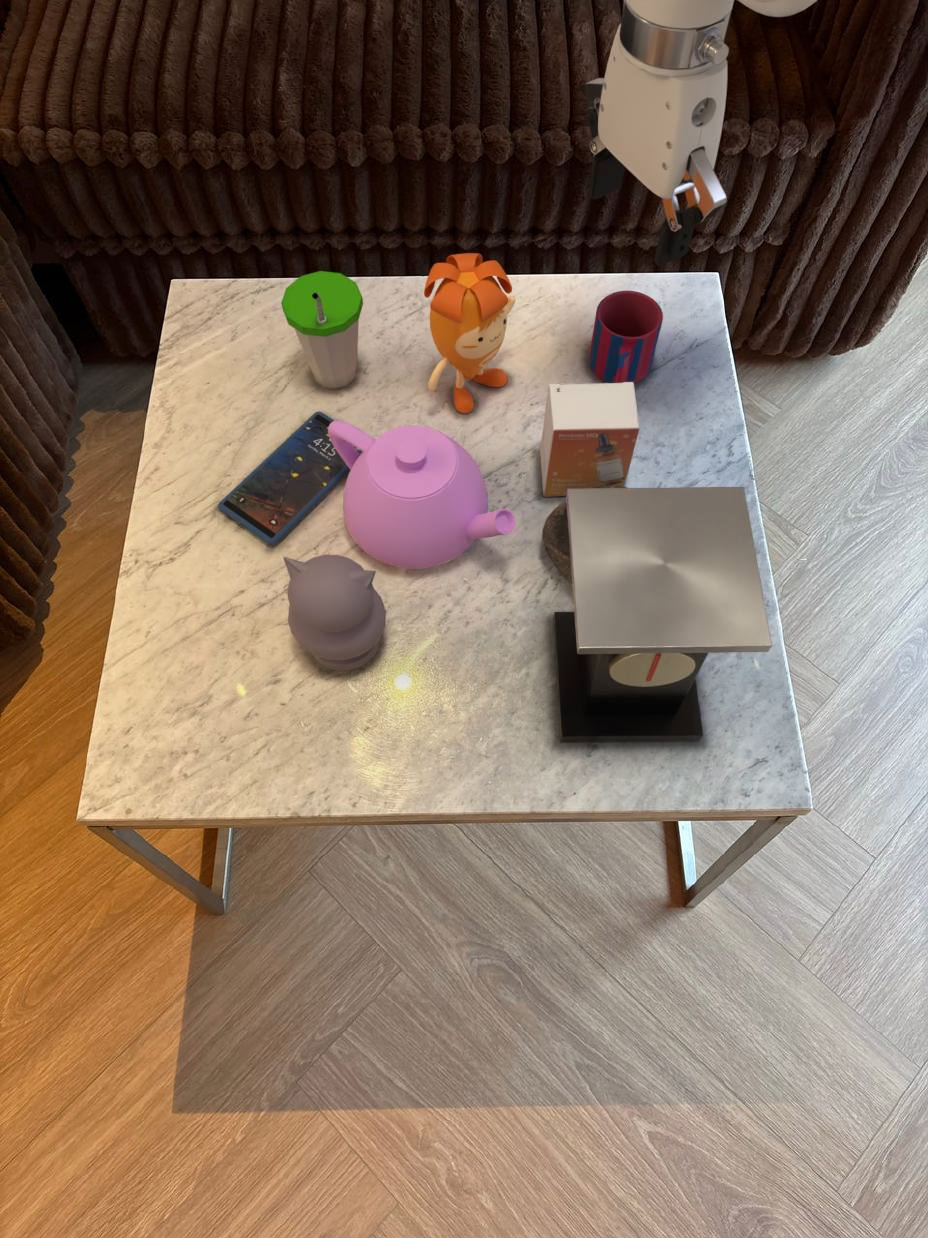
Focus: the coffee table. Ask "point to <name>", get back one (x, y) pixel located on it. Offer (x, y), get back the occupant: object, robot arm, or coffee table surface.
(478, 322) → the toy figure
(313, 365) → the cup
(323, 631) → the cat figurine
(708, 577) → the scale
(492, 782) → the coffee table surface
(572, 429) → the small box
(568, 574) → the stone
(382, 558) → the teapot
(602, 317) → the cup
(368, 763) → the coffee table surface
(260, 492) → the smartphone
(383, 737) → the coffee table surface
